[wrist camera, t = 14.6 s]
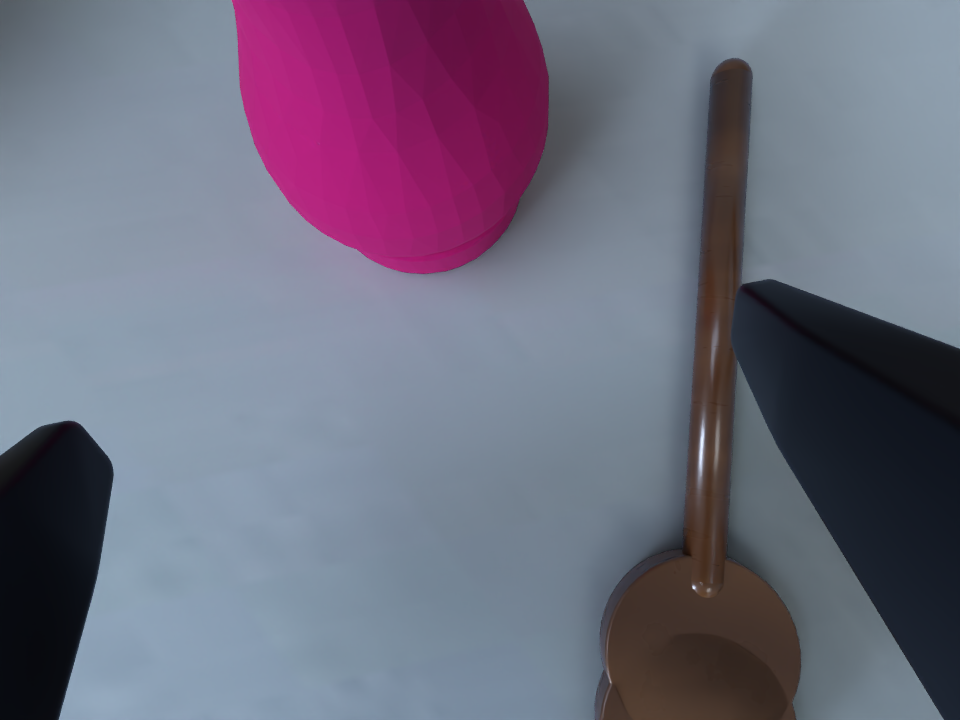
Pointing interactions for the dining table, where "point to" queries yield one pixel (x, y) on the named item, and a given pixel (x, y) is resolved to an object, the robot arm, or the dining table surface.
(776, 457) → the dining table surface
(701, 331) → the spoon
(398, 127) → the pepper mill
